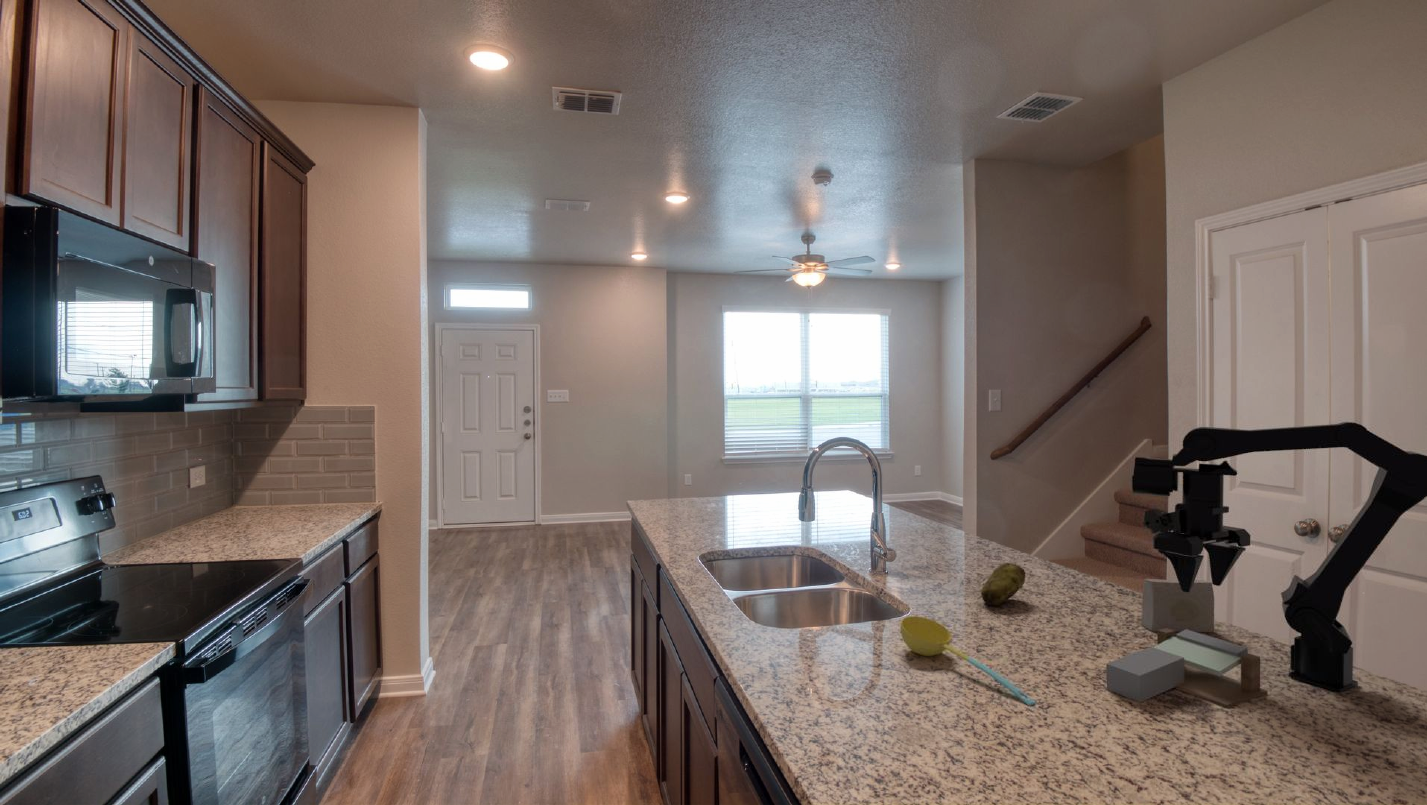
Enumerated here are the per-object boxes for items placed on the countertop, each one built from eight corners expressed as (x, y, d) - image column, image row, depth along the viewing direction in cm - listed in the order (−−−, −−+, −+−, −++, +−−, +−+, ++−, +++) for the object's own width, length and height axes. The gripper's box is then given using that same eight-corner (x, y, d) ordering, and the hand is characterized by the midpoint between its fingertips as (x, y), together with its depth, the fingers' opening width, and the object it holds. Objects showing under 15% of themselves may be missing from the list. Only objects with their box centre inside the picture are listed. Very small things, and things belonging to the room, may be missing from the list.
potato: (965, 599, 147) (965, 563, 147) (1008, 593, 152) (1008, 558, 152) (993, 610, 139) (993, 573, 139) (1038, 603, 144) (1038, 567, 144)
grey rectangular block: (1150, 646, 108) (1106, 663, 102) (1184, 657, 103) (1139, 675, 98) (1150, 670, 108) (1106, 689, 102) (1184, 682, 103) (1140, 702, 98)
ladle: (922, 635, 123) (928, 607, 122) (1044, 730, 100) (1053, 697, 99) (885, 641, 119) (891, 612, 118) (1003, 741, 96) (1012, 706, 95)
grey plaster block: (1201, 626, 130) (1202, 578, 130) (1215, 632, 127) (1215, 583, 126) (1140, 625, 130) (1140, 577, 130) (1151, 632, 127) (1152, 583, 127)
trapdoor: (1251, 659, 103) (1251, 648, 103) (1220, 679, 100) (1219, 668, 100) (1183, 638, 112) (1182, 628, 112) (1152, 655, 109) (1151, 645, 109)
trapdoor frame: (1267, 693, 101) (1267, 657, 101) (1226, 707, 96) (1227, 670, 96) (1164, 657, 114) (1165, 626, 114) (1124, 668, 110) (1125, 636, 110)
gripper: (1184, 489, 126) (1183, 571, 126) (1122, 496, 118) (1121, 583, 118) (1252, 498, 115) (1251, 586, 116) (1190, 505, 107) (1188, 600, 108)
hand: (1201, 588), depth 114 cm, fingers open, 9 cm apart
